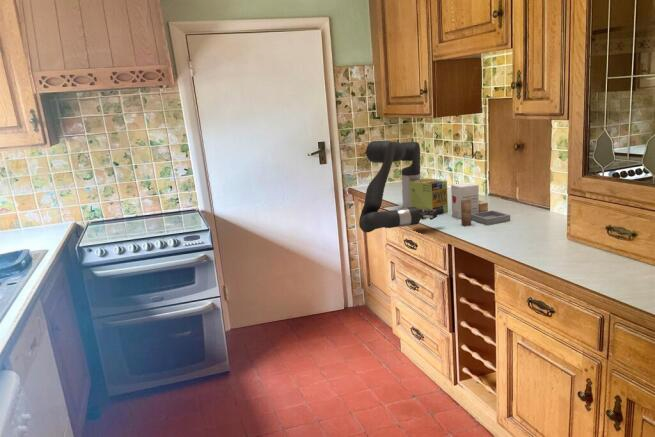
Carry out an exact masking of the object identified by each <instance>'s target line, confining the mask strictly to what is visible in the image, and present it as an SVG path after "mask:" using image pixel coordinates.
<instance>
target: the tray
mask: <svg viewBox="0 0 655 437" xmlns="http://www.w3.org/2000/svg"><path fill="white" fill-rule="evenodd" d="M472 221H473V222H476V223H479V224H482V225H485V226H489V225H490V226H491V225H497V224H501V222H502V223H507V222H510V221H511V214H508V213H505V212H501V211H497V210H494V209H492V210H488V211H485V212H480V213H474V214H471V222H472ZM506 221H507V222H506Z"/></svg>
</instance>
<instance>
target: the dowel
mask: <svg viewBox="0 0 655 437" xmlns="http://www.w3.org/2000/svg"><path fill="white" fill-rule="evenodd" d="M460 220H461V226H463V227H470V226H472V220H471V199H461V219H460Z"/></svg>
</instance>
